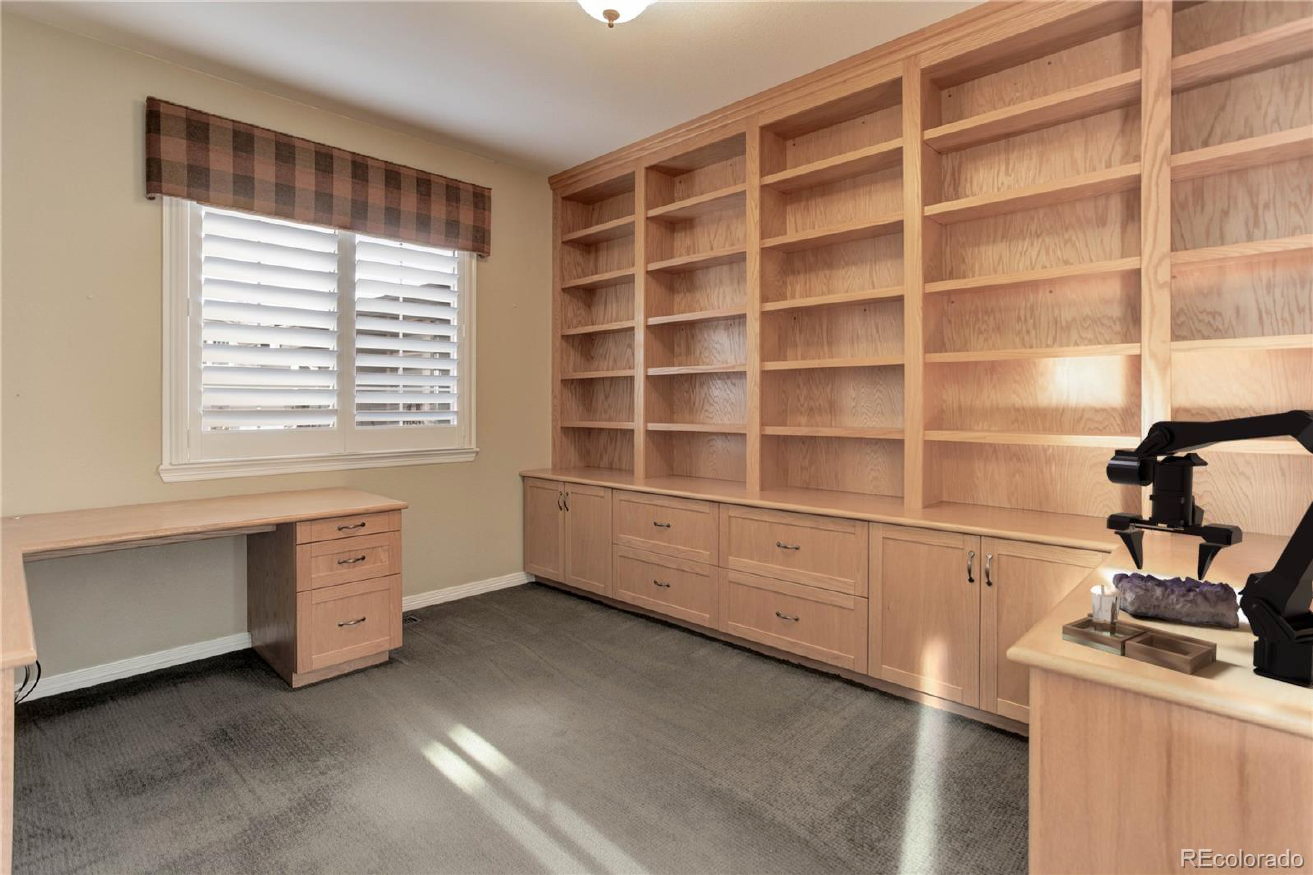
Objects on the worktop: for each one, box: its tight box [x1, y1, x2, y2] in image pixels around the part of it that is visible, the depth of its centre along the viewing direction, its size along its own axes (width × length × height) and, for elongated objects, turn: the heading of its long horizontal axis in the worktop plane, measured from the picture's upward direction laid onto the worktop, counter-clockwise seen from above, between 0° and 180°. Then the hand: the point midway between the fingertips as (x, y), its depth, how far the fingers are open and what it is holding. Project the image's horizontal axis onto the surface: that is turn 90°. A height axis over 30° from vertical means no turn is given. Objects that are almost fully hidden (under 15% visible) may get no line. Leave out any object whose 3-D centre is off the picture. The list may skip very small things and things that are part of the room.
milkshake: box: [1090, 584, 1122, 638], centre depth 116 cm, size 4×5×10 cm
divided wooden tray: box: [1061, 612, 1218, 675], centre depth 113 cm, size 19×11×3 cm, turn 32°
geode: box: [1112, 572, 1241, 630], centre depth 130 cm, size 20×12×10 cm, turn 60°
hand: (1169, 574), depth 118 cm, fingers open, 9 cm apart
